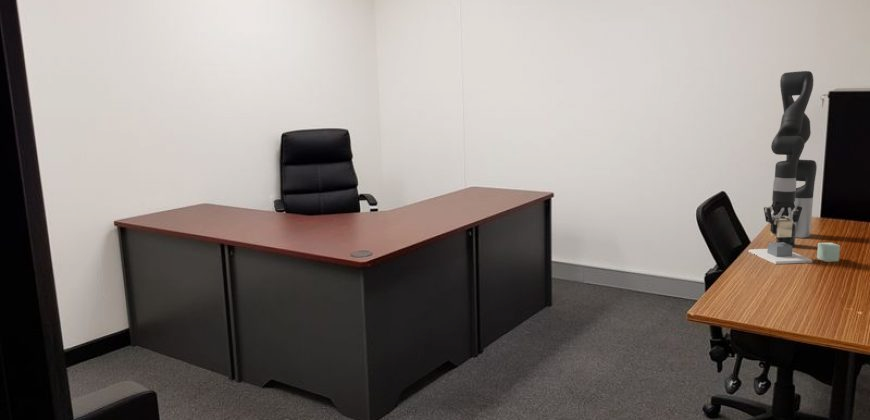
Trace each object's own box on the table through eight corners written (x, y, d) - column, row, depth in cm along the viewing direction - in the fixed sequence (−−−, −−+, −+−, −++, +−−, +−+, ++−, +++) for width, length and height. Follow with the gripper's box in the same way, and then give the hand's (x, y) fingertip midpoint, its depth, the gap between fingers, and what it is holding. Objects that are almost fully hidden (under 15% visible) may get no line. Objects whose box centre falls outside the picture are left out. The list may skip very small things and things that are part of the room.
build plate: (748, 251, 245) (749, 239, 244) (782, 250, 246) (783, 238, 245) (775, 264, 227) (776, 250, 227) (812, 262, 228) (813, 249, 227)
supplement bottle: (790, 243, 257) (792, 215, 255) (797, 247, 250) (800, 218, 248) (772, 243, 258) (774, 215, 255) (780, 247, 251) (782, 218, 249)
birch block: (770, 234, 237) (771, 219, 236) (783, 234, 238) (784, 218, 236) (778, 237, 232) (779, 221, 231) (791, 236, 233) (792, 221, 232)
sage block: (816, 258, 234) (818, 242, 233) (829, 257, 234) (830, 242, 233) (825, 261, 229) (827, 246, 228) (838, 261, 229) (840, 245, 228)
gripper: (796, 187, 236) (793, 230, 239) (760, 188, 235) (757, 231, 238) (809, 190, 228) (805, 234, 232) (771, 191, 228) (768, 236, 231)
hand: (780, 233), depth 235 cm, fingers closed on birch block, 5 cm apart
